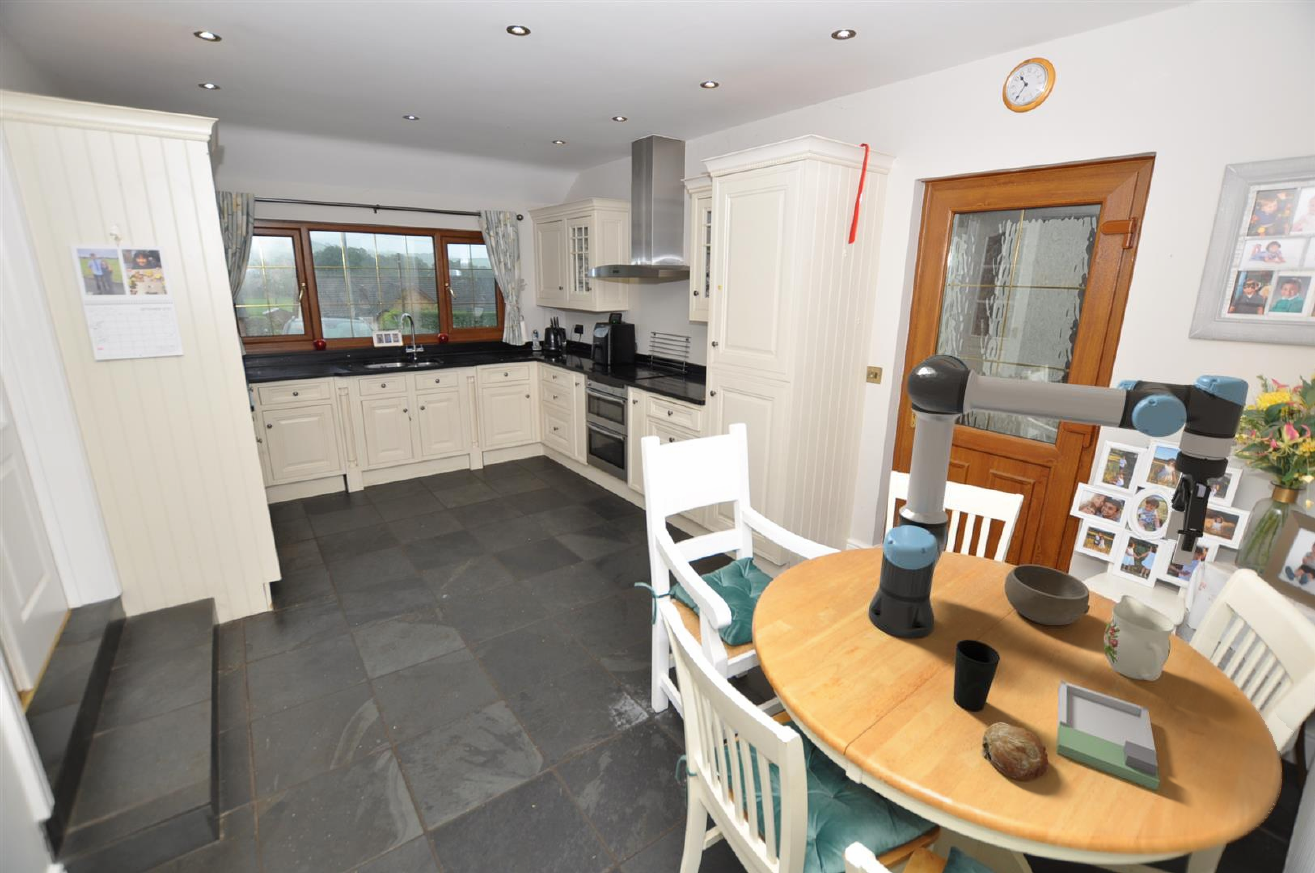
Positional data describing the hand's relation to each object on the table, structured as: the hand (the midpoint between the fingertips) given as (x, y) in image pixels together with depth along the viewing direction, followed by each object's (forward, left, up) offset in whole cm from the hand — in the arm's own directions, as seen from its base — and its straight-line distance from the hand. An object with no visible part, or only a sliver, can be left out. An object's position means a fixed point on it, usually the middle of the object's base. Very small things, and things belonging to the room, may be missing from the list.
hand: (1176, 551), depth 121 cm
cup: (-31, -35, -28) cm, 54 cm away
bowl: (-20, +10, -28) cm, 36 cm away
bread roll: (-22, -46, -28) cm, 59 cm away
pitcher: (-3, -5, -28) cm, 29 cm away
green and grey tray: (-9, -31, -28) cm, 42 cm away
